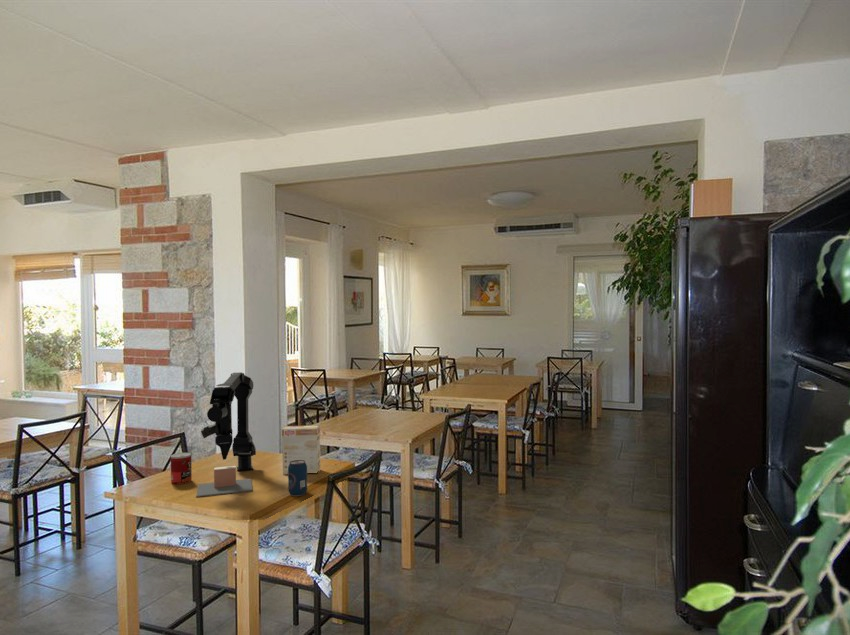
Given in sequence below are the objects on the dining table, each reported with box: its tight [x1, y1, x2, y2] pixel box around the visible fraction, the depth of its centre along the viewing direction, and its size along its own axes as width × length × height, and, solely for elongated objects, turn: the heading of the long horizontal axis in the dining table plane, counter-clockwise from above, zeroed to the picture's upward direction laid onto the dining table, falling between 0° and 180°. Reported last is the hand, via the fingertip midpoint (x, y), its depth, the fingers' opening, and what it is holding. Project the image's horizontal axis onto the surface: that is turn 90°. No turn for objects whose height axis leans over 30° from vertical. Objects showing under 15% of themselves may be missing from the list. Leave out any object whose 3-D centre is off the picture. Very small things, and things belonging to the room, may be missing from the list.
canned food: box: [170, 452, 193, 484], centre depth 230 cm, size 8×8×11 cm
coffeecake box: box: [281, 425, 322, 475], centre depth 241 cm, size 15×7×20 cm, turn 89°
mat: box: [195, 478, 254, 498], centre depth 219 cm, size 16×20×1 cm
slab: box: [213, 465, 237, 488], centre depth 221 cm, size 3×8×7 cm, turn 109°
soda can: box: [287, 460, 308, 497], centre depth 211 cm, size 7×7×12 cm
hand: (224, 456), depth 221 cm, fingers open, 9 cm apart
